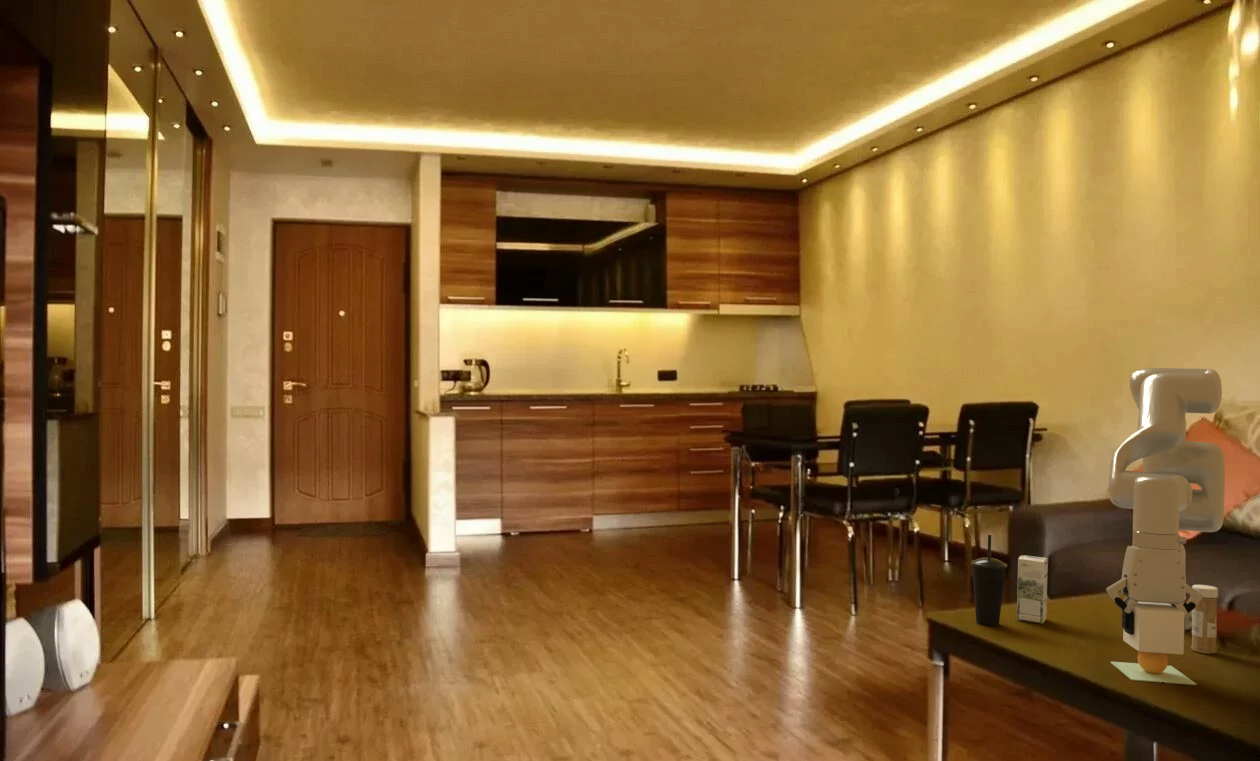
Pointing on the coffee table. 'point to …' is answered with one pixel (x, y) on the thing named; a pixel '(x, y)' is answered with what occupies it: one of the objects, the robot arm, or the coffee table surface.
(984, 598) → the drinking cup
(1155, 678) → the mark
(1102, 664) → the coffee table surface
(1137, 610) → the cream matte cube
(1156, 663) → the ball
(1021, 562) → the syrup box
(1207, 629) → the sprinkles bottle
